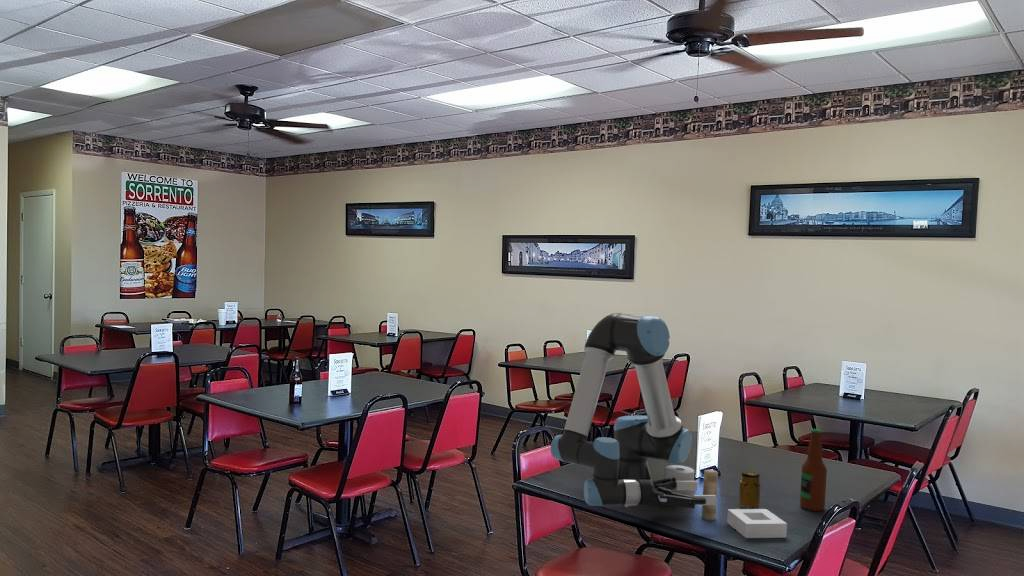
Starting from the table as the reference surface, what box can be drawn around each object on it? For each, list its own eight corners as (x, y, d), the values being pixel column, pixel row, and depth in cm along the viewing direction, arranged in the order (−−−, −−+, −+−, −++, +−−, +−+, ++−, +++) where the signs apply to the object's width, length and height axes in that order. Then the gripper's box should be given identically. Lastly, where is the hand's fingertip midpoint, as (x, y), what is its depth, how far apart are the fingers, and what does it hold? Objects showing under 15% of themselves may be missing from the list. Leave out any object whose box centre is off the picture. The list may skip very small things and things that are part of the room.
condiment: (743, 506, 229) (745, 468, 229) (769, 513, 223) (771, 474, 223) (732, 511, 224) (734, 472, 223) (759, 518, 218) (761, 479, 218)
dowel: (699, 515, 218) (701, 469, 218) (712, 515, 219) (714, 469, 218) (705, 520, 214) (707, 473, 214) (717, 520, 215) (720, 473, 214)
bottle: (803, 502, 235) (808, 426, 234) (827, 508, 230) (831, 430, 230) (796, 507, 229) (800, 429, 229) (820, 513, 225) (825, 433, 224)
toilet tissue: (678, 486, 247) (679, 461, 247) (698, 499, 234) (699, 472, 234) (654, 487, 245) (655, 462, 244) (672, 500, 232) (673, 473, 232)
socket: (727, 522, 213) (727, 509, 213) (765, 522, 215) (766, 508, 215) (745, 538, 201) (746, 523, 201) (786, 537, 203) (787, 523, 203)
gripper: (624, 491, 225) (689, 491, 228) (649, 520, 200) (722, 519, 203) (625, 467, 225) (690, 468, 227) (651, 493, 200) (724, 493, 203)
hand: (705, 492), depth 215 cm, fingers open, 13 cm apart
